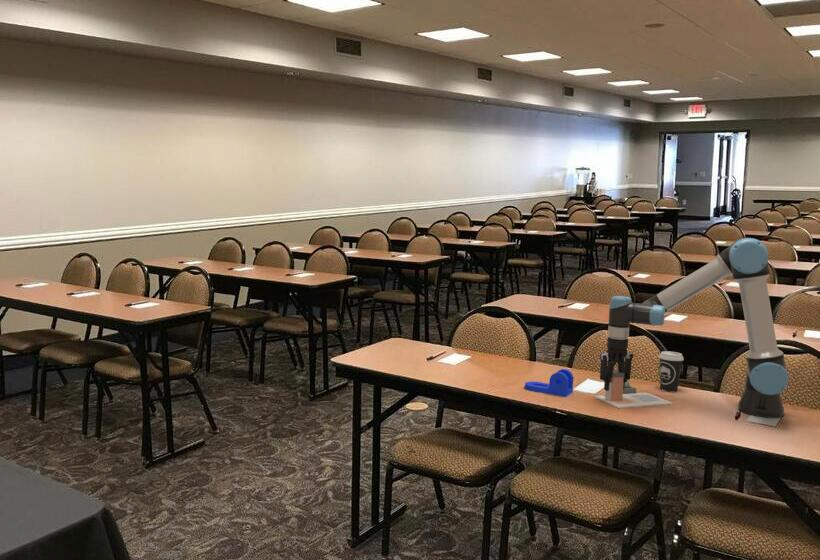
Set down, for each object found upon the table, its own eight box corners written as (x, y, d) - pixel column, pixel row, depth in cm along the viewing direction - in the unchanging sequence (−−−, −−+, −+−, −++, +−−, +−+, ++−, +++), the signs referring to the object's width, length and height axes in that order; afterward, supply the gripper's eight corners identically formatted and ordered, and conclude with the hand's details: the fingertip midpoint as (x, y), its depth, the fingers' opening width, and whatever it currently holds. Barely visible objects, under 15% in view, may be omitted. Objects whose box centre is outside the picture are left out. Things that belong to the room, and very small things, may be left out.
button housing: (636, 394, 273) (636, 388, 272) (621, 395, 270) (621, 389, 270) (625, 389, 279) (625, 383, 279) (610, 390, 277) (610, 384, 277)
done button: (631, 388, 273) (631, 378, 273) (622, 389, 272) (623, 379, 272) (624, 385, 277) (625, 376, 277) (616, 386, 276) (616, 376, 275)
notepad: (672, 404, 260) (672, 402, 259) (618, 408, 252) (618, 406, 252) (646, 393, 274) (646, 392, 274) (594, 397, 266) (594, 395, 266)
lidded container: (622, 400, 260) (624, 372, 259) (611, 401, 258) (613, 373, 257) (614, 397, 264) (616, 370, 263) (604, 397, 263) (606, 370, 262)
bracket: (572, 392, 272) (573, 370, 271) (566, 397, 265) (567, 374, 264) (528, 385, 281) (530, 363, 280) (521, 389, 274) (522, 367, 273)
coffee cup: (683, 393, 276) (686, 356, 275) (658, 391, 278) (661, 354, 277) (679, 387, 286) (681, 351, 284) (654, 385, 288) (657, 350, 286)
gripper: (631, 335, 265) (626, 394, 268) (592, 336, 259) (588, 397, 262) (643, 338, 258) (639, 399, 261) (604, 340, 252) (599, 402, 255)
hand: (613, 398), depth 261 cm, fingers closed on lidded container, 4 cm apart
